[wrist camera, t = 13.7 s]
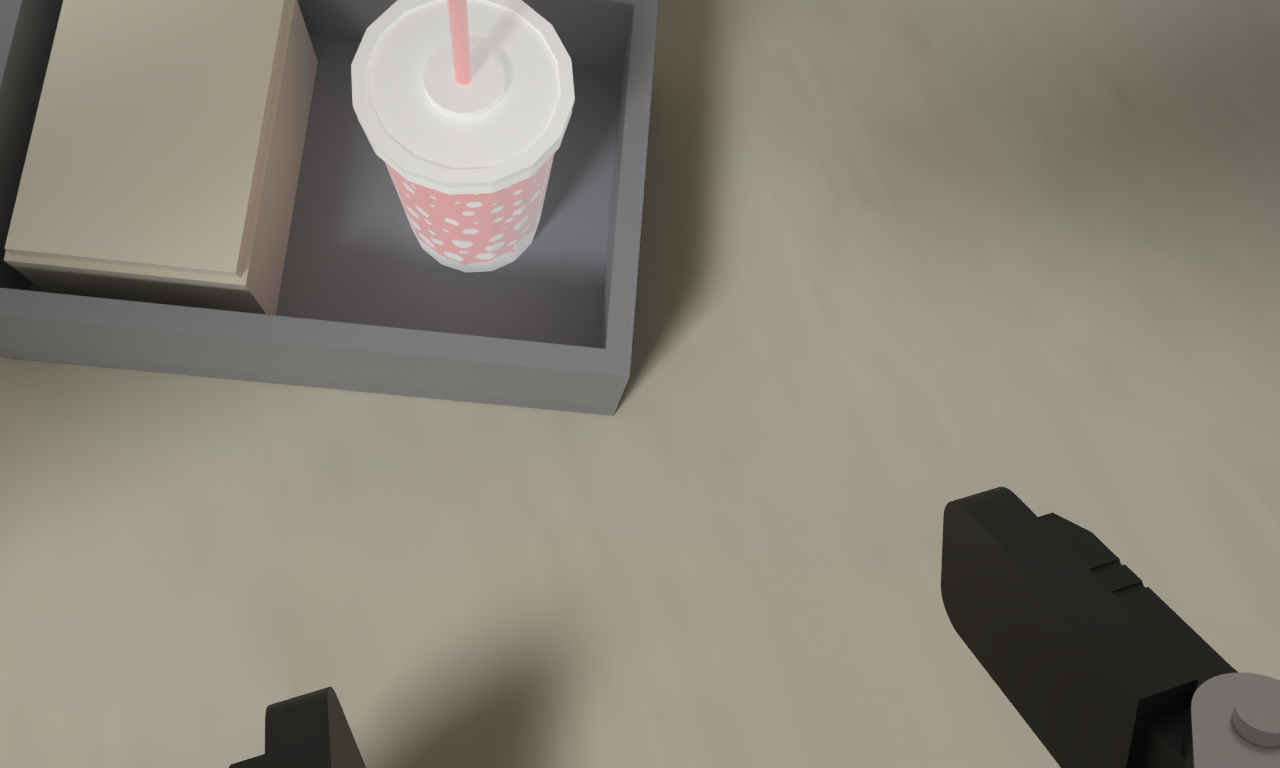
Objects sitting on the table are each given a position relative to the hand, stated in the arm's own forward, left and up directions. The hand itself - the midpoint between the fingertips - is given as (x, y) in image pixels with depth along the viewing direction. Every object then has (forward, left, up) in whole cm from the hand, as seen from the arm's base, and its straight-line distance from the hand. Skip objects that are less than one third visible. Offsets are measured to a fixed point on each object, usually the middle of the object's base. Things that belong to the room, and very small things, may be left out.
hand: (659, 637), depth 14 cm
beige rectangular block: (-14, +15, -22) cm, 30 cm away
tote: (-9, +15, -23) cm, 29 cm away
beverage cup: (-5, +15, -22) cm, 27 cm away
